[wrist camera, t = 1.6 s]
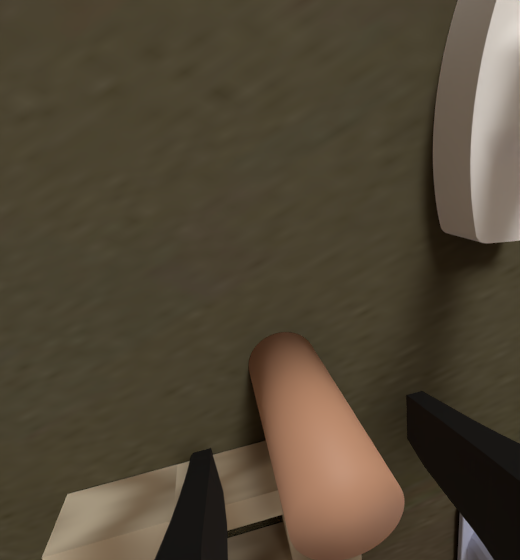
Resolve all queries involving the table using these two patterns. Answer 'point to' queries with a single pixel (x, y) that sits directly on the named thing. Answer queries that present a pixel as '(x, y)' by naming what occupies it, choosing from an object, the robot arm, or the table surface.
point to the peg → (320, 454)
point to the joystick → (479, 123)
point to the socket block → (160, 507)
